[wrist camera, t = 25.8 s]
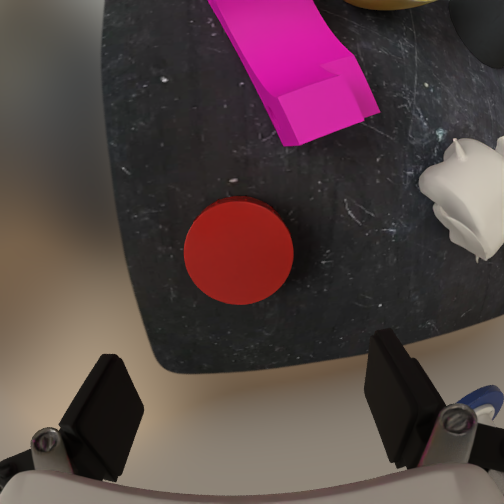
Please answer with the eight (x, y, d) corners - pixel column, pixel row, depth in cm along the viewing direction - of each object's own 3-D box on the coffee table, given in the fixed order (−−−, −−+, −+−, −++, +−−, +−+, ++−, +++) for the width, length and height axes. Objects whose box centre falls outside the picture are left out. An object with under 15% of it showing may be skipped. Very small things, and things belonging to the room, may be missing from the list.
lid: (210, 180, 21) (206, 183, 19) (306, 219, 23) (312, 227, 20) (177, 270, 24) (170, 282, 22) (265, 303, 25) (266, 318, 23)
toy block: (356, 117, 20) (402, 107, 13) (283, 146, 21) (299, 145, 14) (273, -32, 16) (281, -84, 9) (201, -9, 17) (185, -58, 10)
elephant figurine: (445, 271, 25) (500, 316, 16) (383, 171, 22) (447, 188, 13) (501, 210, 23) (561, 235, 14) (450, 108, 20) (520, 103, 11)
